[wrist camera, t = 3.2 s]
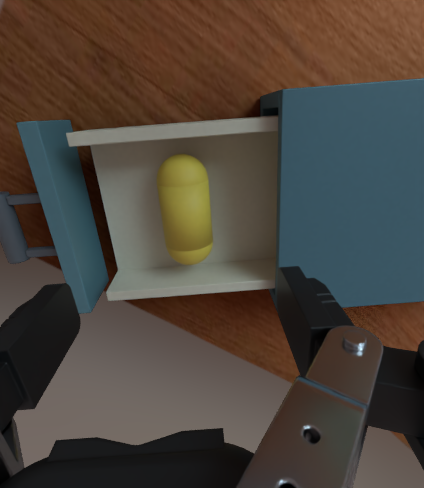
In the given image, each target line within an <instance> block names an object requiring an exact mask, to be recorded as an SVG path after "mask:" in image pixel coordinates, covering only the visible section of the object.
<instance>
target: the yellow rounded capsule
mask: <svg viewBox="0 0 424 488" xmlns="http://www.w3.org/2000/svg"><path fill="white" fill-rule="evenodd" d="M157 189H158V196H159V203H160V210H161V216H162V223H163V230H164V237H165V244H166V248H167V251H168V253H169V255H170V256H171V257H172V258H173V259H174V260H175V261H177V262H179V263H181V264H184V265H194V264H198V263H200V262H202V261H203V260H204V259H206V258H207V256H208V255H209V254H210V252H211V250H212V246H213V233H212V220H211V207H210V194H209V180H208V174H207V171H206V169H205V167H204V166H203V164H202V163H201V162H200V161H199V160H198V159H196V158H195V157H193V156H191V155H187V154H177V155H173V156H171V157H169V158H168V159H166V160H165V161H164V162H163V163H162V164H161V166H160V168H159V170H158V173H157Z"/></svg>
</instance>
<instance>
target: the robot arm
mask: <svg viewBox="0 0 424 488" xmlns="http://www.w3.org/2000/svg"><path fill="white" fill-rule="evenodd" d="M277 309H278V315H279V318H280V321H281V324H282V327H283V329H284V332H285V335H286V337H287V340H288V343H289V345H290V348H291V351H292V354H293V356H294V359H295V362H296V364H297V367H298V370H299V372H300V375H301V376H300V375H299V376H298V377H297V378H296V379H295V381H294V382H293V384H292V386H291V388H290V390H289V392H288V393H287V395H286V397H285V399H284V400H283V402H282V404H281V406H280V408H279V410H278V412H277V413H276V415H275V417H274V419H273V421H272V422H271V424H270V426H269V428H268V430H267V432H266V433H265V436H264V437H263V439H262V441H261V443H260V444H259V446H258V448H257V450H256V452H255V454H254V453H252V452H250V451H248V450H246V449H244V448H242V447H239V446H236V445H233V444H229V443H225V442H224V434H223V428H219V429H204V430H190V431H181V432H178V433H175V434H172V435H169V436H166V437H163V438H160V439H157V440H153V441H150V442H148V443H144V444H141V445H130V444H125V443H121V442H116V441H111V440H107V439H102V438H97V437H96V438H82V439H69V440H56V442H55V444H54V446H53V448H52V450H51V453H50V455H49V457H47V458H44V459H42V460H40V461H38V462H35V463H33V464H31V465H29V466H28V467H26V468H24V463H23V458H22V453H21V448H20V442H19V437H18V432H17V427H16V423H15V421H14V419H13V416H14V414H15V413H16V411H17V410H26V409H35V407H36V405H37V403H38V402H39V400H40V398H41V397H42V395H43V393H44V391H45V390H46V388H47V386H48V385H49V383H50V381H51V379H52V378H53V376H54V374H55V372H56V371H57V369H58V367H59V366H60V364H61V362H62V360H63V358H64V357H65V355H66V353H67V352H68V350H69V348H70V346H71V345H72V343H73V341H74V340H75V338H76V336H77V334H78V332H79V329H80V316H79V313H78V309H77V306H76V303H75V300H74V296H73V293H72V290H71V287H70V286H69V285H68V284H67V283H64V284H52V285H45V286H44V287H43V288H42V289H41V290H40V291H39V292H38V293H37V294H36V295H35V296H34V297H33V298H32V299H30V300H29V301H27V302H26V303H24V304H23V305H21V306H20V307H18V308H17V309H16V310H15V311H14V312H13V313H12V314H11V315H10V316H9V319H6V320H5V322H4V323H3V324H2V325H1V327H0V488H353V484H354V480H355V476H356V472H357V468H358V464H359V460H360V456H361V452H362V448H363V444H364V440H365V436H366V432H367V428H368V426H372V427H376V428H381V429H385V430H389V431H394V432H398V433H402V434H404V436H405V437H406V439H407V441H408V443H409V445H410V446H411V448H412V450H413V452H414V454H415V455H416V457H417V459H418V460H419V462H420V464H421V466H422V468H423V470H424V340H423V341H422V342H421V343H420V344H419V347H418V351H417V352H415V351H409V350H402V349H396V348H390V347H386V346H383V345H382V343H381V341H380V340H379V339H378V338H377V337H376V336H375V335H374V334H372V333H371V332H369V331H367V330H365V329H362V328H359V327H356V326H354V324H353V323H352V322H351V320H350V319H349V317H348V316H347V315H346V313H345V312H344V310H343V309H342V308H341V306H340V305H339V303H338V302H336V299H335V298H334V296H333V295H331V292H330V291H329V289H328V288H327V287H326V285H325V284H323V283H322V282H320V281H319V280H317V279H316V278H306V276H305V275H304V273H303V272H302V270H301V268H300V267H299V266H290V267H279V268H278V273H277Z"/></svg>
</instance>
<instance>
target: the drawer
mask: <svg viewBox="0 0 424 488" xmlns="http://www.w3.org/2000/svg"><path fill="white" fill-rule="evenodd" d="M17 127H18V130H19V133H20V137H21V140H22V143H23V146H24V149H25V153H26V156H27V159H28V162H29V165H30V169H31V172H32V175H33V178H34V181H35V185H36V188H37V191H38V193H30V194H17V195H10V194H9V192H5V191H4V192H0V242H1V245H2V247H3V250H4V252H5V255H6V258H7V260H8V262H9V263H11V264H16V263H21V262H24V261H26V260H28V259H29V258H31V257H44V256H57V255H58V258H59V262H60V265H61V268H62V271H63V274H64V278H65V280H66V283H67V284H68V285H69V286H70V287H71V290H72V293H73V296H74V300H75V303H76V306H77V309H78V313H79V314H81V313H91V311H92V310H93V308H94V306H95V304H96V303H97V301H98V299H99V297H100V296H101V294H102V292H103V290H104V288H105V287H106V285H107V283H108V281H109V278H108V274H107V270H106V266H105V261H104V257H103V253H102V249H101V245H100V241H99V237H98V233H97V229H96V224H95V220H94V216H93V212H92V208H91V204H90V200H89V196H88V191H87V187H86V183H85V179H84V175H83V171H82V167H81V163H80V159H79V154H78V150H77V146H88V145H90V148H91V152H92V157H93V161H94V165H95V170H96V174H97V179H98V183H99V188H100V192H101V196H102V201H103V205H104V210H105V214H106V219H107V223H108V228H109V232H110V236H111V241H112V245H113V250H114V254H115V259H116V263H117V267H118V271H117V273H116V275H115V277H114V279H113V281H112V282H111V284H110V286H109V288H108V290H107V292H106V295H107V299H108V301H116V300H130V299H143V298H155V297H168V296H181V295H194V294H207V293H220V292H233V291H246V290H259V289H272V288H275V275H276V218H277V161H278V115H274V116H261V117H248V118H235V119H222V120H209V121H196V122H184V123H171V124H158V125H145V126H132V127H119V128H106V129H93V130H85V131H77V132H73V130H72V126H71V122H70V120H49V121H29V122H18V123H17ZM177 154H187V155H191V156H193V157H195V158H196V159H198V160H199V161H200V162H201V163H202V164H203V166H204V167H205V169H206V171H207V174H208V180H209V194H210V207H211V220H212V233H213V246H212V250H211V252H210V254H209V255H208V256H207V258H206V259H204V260H203V261H202V262H200V263H198V264H194V265H184V264H181V263H179V262H177V261H175V260H174V259H173V258H172V257H171V256H170V255H169V253H168V251H167V248H166V244H165V237H164V230H163V223H162V216H161V210H160V203H159V196H158V189H157V173H158V170H159V168H160V166H161V164H162V163H163V162H164V161H165V160H166V159H168V158H169V157H171V156H173V155H177ZM33 203H41V204H42V207H43V210H44V214H45V217H46V220H47V223H48V226H49V230H50V233H51V236H52V239H53V242H54V246H46V247H33V248H28V245H27V242H26V240H25V237H24V234H23V231H22V228H21V225H20V222H19V220H18V217H17V214H16V211H15V208H14V205H20V204H33Z"/></svg>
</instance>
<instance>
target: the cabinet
mask: <svg viewBox="0 0 424 488" xmlns="http://www.w3.org/2000/svg"><path fill="white" fill-rule="evenodd" d="M274 115H278V161H277V218H276V275H275V288H272V289H269V291H270V294H271V297H272V299H273V302H274V305H275V307H276V310H277V312H278V309H277V273H278V268H279V267H290V266H299V267H300V268H301V270H302V272H303V273H304V275H305V276H306V278H316V279H317V280H319V281H320V282H322V283H323V284H325V285H326V287H327V288H328V289H329V291H330V292H331V295H333V296H334V298H335V299H336V302H338V303H339V305H340V306H341V308H343V307H356V306H369V305H382V304H395V303H408V302H421V301H424V78H422V79H409V80H396V81H383V82H370V83H358V84H345V85H332V86H319V87H306V88H293V89H282V90H279V91H276V92H273V93H270V94H266V95H263V96H261V97H260V117H261V116H274Z"/></svg>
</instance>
